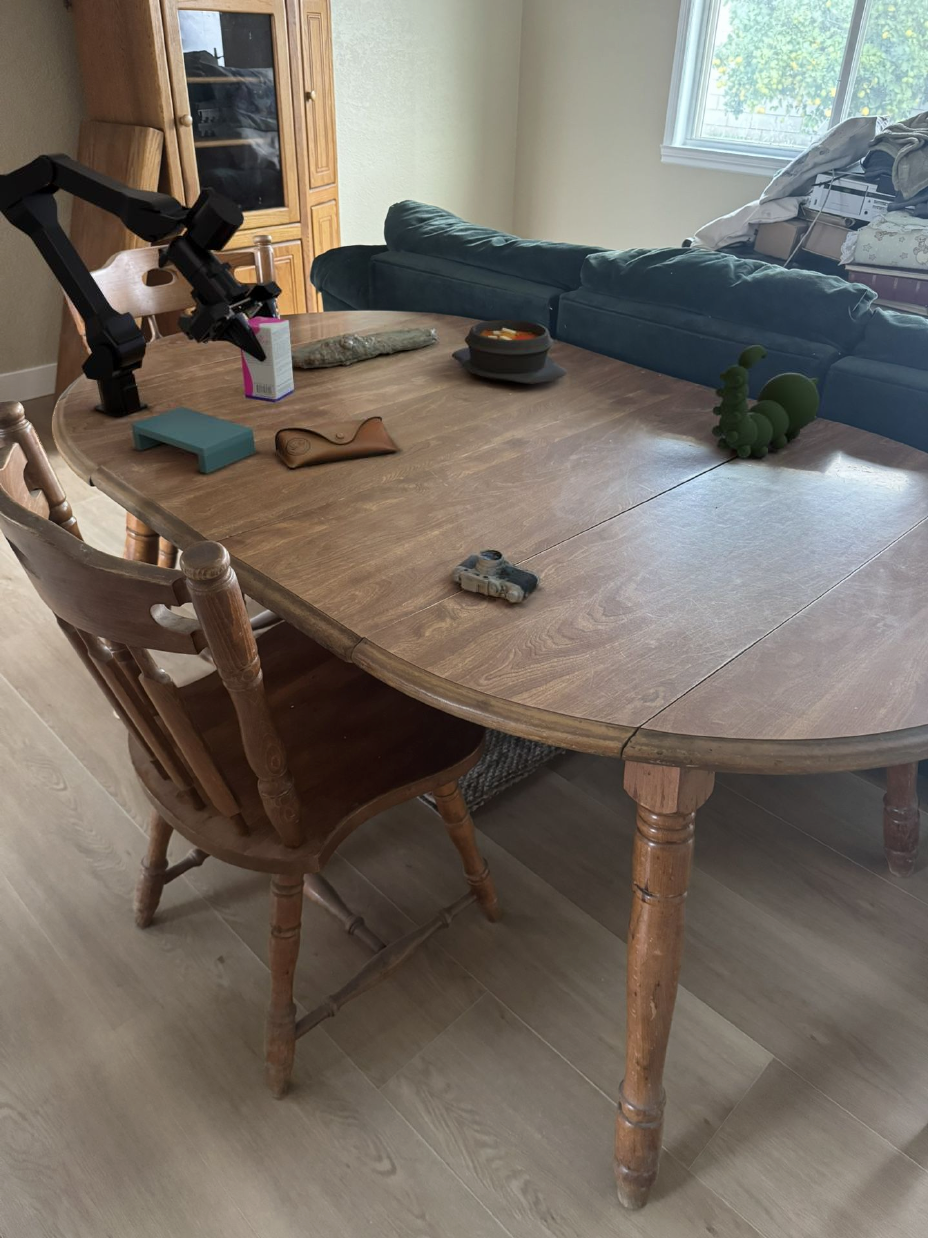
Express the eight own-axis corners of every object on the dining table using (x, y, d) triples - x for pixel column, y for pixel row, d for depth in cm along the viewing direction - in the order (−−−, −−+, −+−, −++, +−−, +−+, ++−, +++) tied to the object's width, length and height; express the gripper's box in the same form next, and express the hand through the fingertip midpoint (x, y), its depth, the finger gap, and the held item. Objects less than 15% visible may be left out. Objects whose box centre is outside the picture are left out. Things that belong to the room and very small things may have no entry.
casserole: (587, 379, 175) (591, 335, 170) (518, 400, 164) (520, 353, 160) (498, 349, 190) (500, 308, 186) (430, 366, 180) (430, 323, 175)
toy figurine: (741, 483, 139) (833, 434, 152) (758, 363, 128) (857, 320, 141) (692, 464, 145) (785, 417, 158) (704, 348, 134) (803, 307, 147)
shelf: (135, 448, 141) (130, 424, 139) (185, 429, 148) (181, 406, 146) (206, 473, 134) (203, 448, 132) (255, 453, 141) (253, 428, 139)
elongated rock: (448, 352, 192) (419, 343, 198) (448, 326, 189) (420, 318, 196) (304, 374, 172) (277, 363, 178) (302, 345, 169) (275, 336, 176)
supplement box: (295, 391, 145) (290, 319, 139) (276, 403, 141) (270, 328, 134) (263, 386, 147) (257, 314, 141) (243, 397, 142) (236, 323, 136)
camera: (521, 609, 104) (522, 578, 102) (446, 584, 109) (446, 553, 107) (542, 590, 108) (544, 560, 106) (469, 566, 113) (469, 536, 110)
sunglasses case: (291, 468, 135) (281, 423, 134) (281, 475, 141) (271, 433, 141) (402, 450, 142) (393, 407, 141) (388, 457, 148) (379, 417, 148)
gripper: (211, 292, 149) (275, 368, 152) (139, 320, 134) (212, 403, 137) (248, 246, 143) (315, 327, 146) (177, 270, 128) (253, 359, 131)
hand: (274, 354), depth 140 cm, fingers closed on supplement box, 6 cm apart
